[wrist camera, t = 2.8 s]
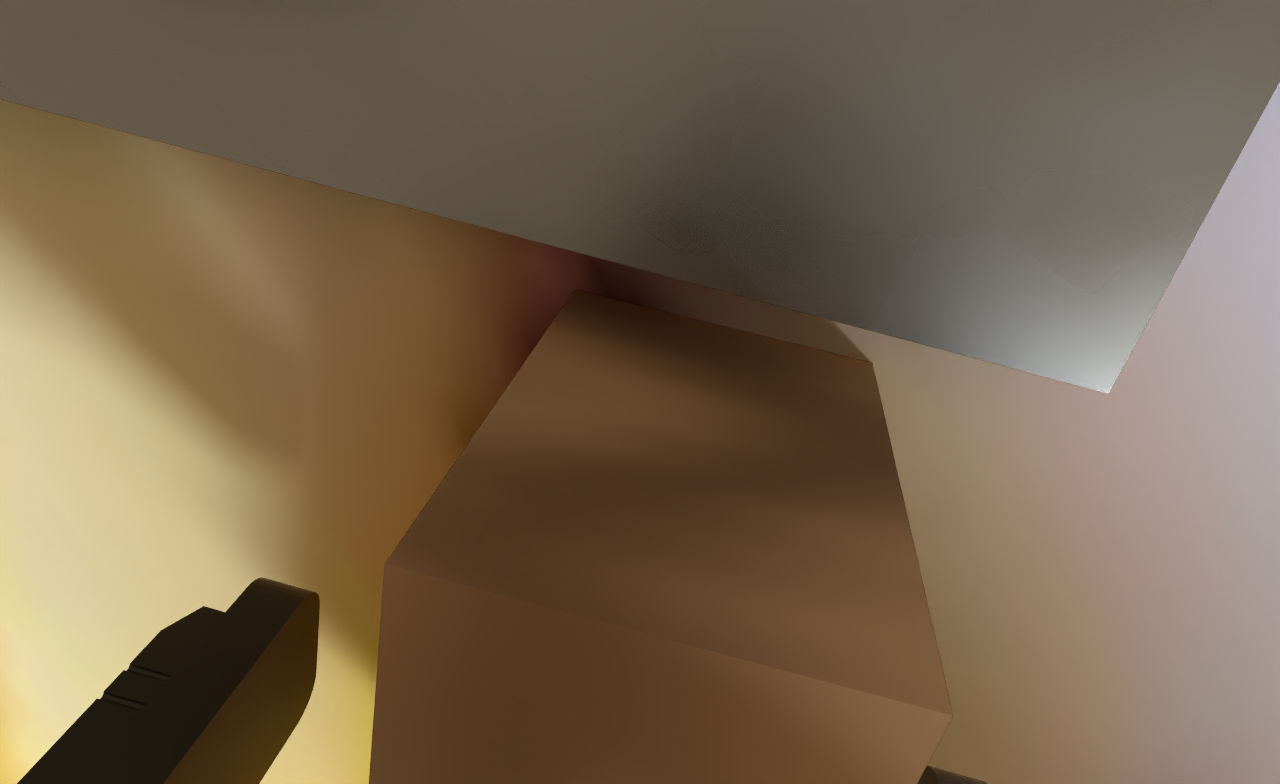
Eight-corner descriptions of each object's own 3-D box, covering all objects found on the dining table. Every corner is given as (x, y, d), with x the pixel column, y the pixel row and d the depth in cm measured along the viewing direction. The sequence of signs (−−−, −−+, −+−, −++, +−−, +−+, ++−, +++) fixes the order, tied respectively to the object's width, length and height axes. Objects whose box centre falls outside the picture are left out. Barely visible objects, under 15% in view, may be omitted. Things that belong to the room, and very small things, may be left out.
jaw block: (871, 359, 11) (953, 716, 6) (698, 836, 16) (652, 1282, 10) (577, 287, 11) (385, 564, 6) (491, 779, 16) (339, 1186, 10)
